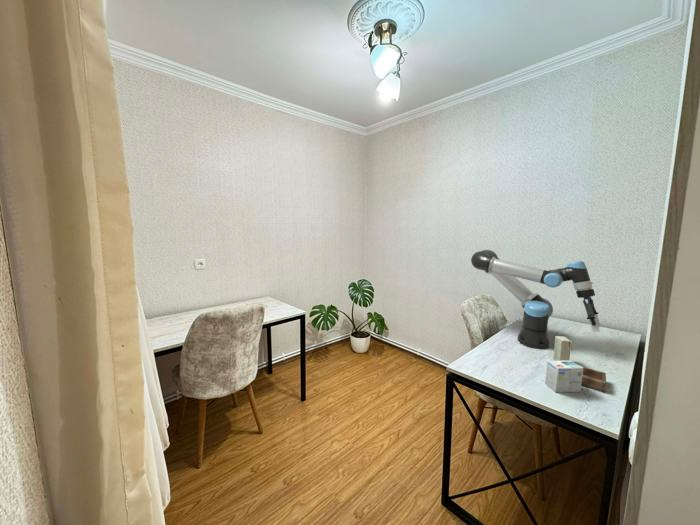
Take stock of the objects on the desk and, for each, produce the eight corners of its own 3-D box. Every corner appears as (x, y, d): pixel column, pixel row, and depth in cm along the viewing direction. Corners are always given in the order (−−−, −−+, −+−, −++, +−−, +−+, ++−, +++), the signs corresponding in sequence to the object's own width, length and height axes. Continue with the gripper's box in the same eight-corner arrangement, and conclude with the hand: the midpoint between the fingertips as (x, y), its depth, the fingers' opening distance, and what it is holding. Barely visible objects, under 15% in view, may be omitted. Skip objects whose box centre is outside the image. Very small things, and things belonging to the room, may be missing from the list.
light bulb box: (568, 383, 122) (571, 359, 120) (581, 392, 115) (584, 367, 113) (543, 383, 121) (546, 359, 120) (555, 392, 115) (558, 368, 113)
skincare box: (569, 365, 136) (572, 341, 134) (559, 364, 137) (562, 340, 135) (562, 359, 142) (565, 336, 140) (552, 358, 143) (555, 335, 141)
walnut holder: (570, 382, 122) (571, 374, 121) (572, 372, 130) (573, 364, 129) (604, 392, 115) (606, 383, 114) (604, 381, 123) (605, 372, 122)
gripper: (591, 290, 141) (605, 333, 138) (594, 286, 159) (606, 324, 156) (573, 292, 146) (586, 334, 143) (577, 288, 164) (589, 325, 161)
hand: (597, 329), depth 149 cm, fingers open, 13 cm apart
